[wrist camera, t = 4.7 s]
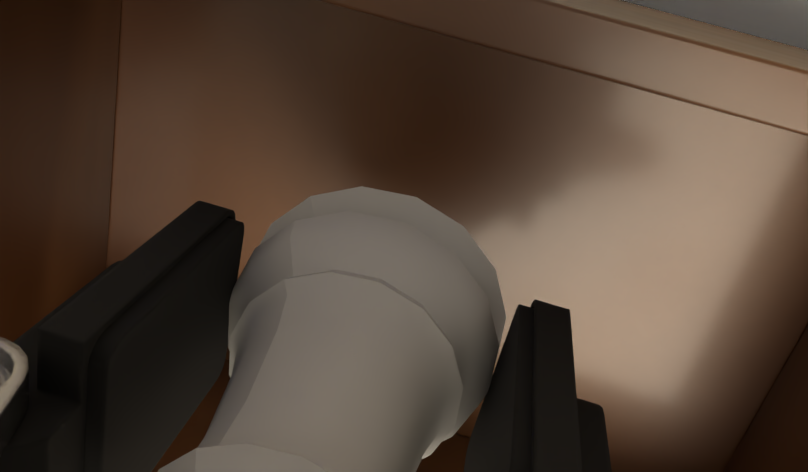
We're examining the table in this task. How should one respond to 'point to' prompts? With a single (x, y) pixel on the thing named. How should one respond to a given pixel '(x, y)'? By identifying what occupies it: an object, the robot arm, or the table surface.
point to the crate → (451, 179)
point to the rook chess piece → (353, 340)
